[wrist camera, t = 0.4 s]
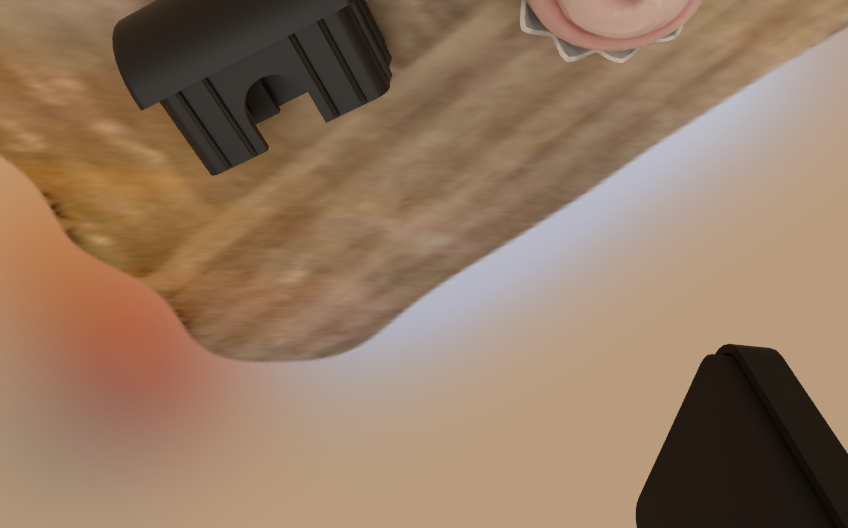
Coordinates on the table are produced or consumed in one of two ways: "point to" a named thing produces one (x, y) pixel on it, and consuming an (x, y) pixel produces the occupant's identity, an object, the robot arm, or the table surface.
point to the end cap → (248, 65)
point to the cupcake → (605, 24)
